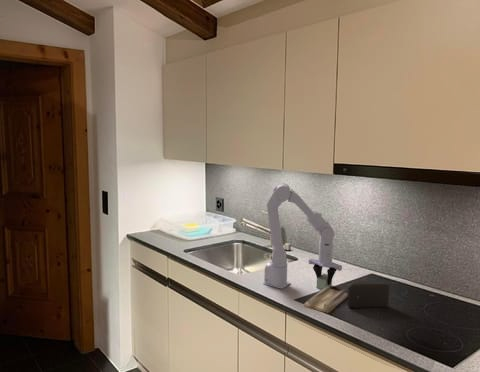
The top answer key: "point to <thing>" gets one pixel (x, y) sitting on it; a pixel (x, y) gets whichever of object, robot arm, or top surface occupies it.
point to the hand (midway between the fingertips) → (324, 283)
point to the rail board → (326, 299)
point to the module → (322, 281)
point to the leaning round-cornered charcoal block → (368, 294)
